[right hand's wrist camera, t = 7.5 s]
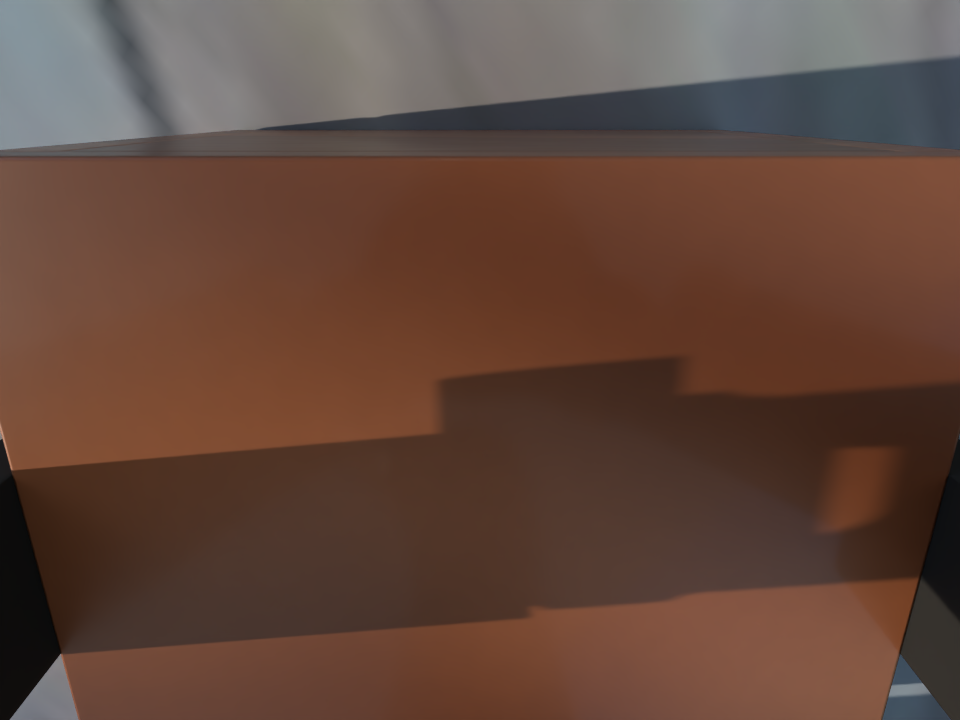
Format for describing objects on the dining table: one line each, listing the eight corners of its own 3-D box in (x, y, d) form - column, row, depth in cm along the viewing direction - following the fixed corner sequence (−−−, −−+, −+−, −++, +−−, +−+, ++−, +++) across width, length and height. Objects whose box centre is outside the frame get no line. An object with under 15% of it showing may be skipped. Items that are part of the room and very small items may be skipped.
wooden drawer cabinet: (656, 698, 22) (778, 1106, 13) (303, 698, 22) (181, 1106, 13) (723, 129, 16) (1038, 155, 7) (236, 129, 16) (-76, 156, 7)
